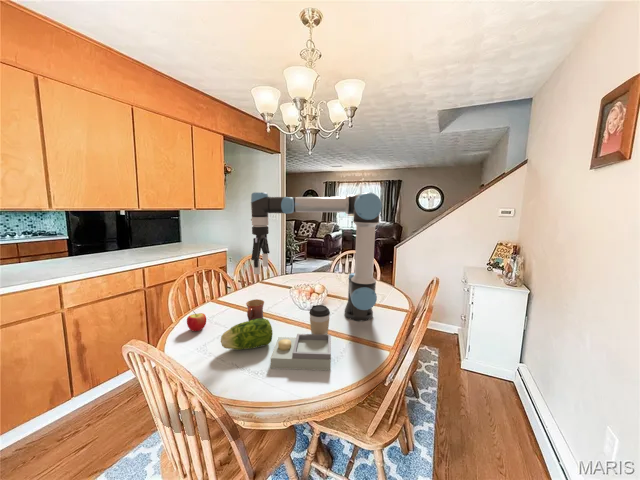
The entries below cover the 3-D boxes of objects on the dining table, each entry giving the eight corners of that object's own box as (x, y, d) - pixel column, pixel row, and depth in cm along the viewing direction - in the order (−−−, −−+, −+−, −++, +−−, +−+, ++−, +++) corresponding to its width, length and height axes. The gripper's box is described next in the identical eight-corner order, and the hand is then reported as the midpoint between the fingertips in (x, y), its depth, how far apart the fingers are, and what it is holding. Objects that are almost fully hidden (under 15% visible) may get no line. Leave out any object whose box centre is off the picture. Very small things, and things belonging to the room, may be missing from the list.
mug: (251, 317, 139) (251, 298, 137) (267, 319, 137) (266, 300, 135) (240, 328, 127) (239, 307, 125) (257, 330, 125) (256, 309, 124)
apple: (183, 332, 122) (181, 312, 121) (197, 324, 130) (196, 305, 129) (197, 335, 120) (195, 314, 118) (210, 327, 128) (209, 307, 126)
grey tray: (330, 347, 111) (330, 334, 110) (330, 370, 96) (330, 355, 95) (278, 345, 112) (278, 332, 111) (270, 368, 97) (270, 353, 96)
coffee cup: (332, 335, 121) (332, 304, 118) (325, 346, 112) (326, 312, 110) (313, 332, 124) (313, 301, 121) (306, 342, 115) (306, 309, 113)
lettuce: (219, 346, 111) (218, 321, 109) (267, 335, 120) (267, 312, 119) (223, 361, 101) (221, 334, 99) (275, 348, 110) (275, 323, 108)
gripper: (260, 223, 136) (261, 263, 140) (242, 228, 112) (244, 277, 115) (274, 223, 136) (275, 263, 139) (260, 229, 111) (261, 277, 114)
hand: (261, 270), depth 127 cm, fingers open, 13 cm apart
